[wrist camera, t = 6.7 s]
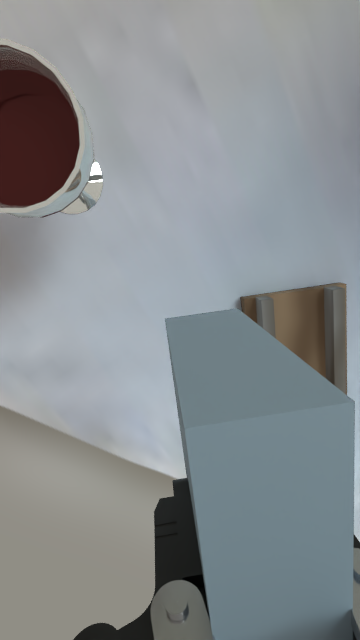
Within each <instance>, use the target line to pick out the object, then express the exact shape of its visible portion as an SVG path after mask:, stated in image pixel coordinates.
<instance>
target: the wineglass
mask: <svg viewBox="0 0 360 640" xmlns="http://www.w3.org/2000/svg"><path fill="white" fill-rule="evenodd" d="M102 187H103V180H102V173H101V170H100V168H99V165H98V163H97V162H96V161H95V159H94V149H93V134H92V131H91V128H90V125H89V122H88V119H87V117H86V114H85V111H84V109H83V107H82V106H81V105H80V103H79V102H78V100H77V99H76V97H75V95H74V92H73V90H72V89H71V88H70V86H69V85H68V83H67V82H66V81H65V79H64V78H63V76H62V75H61V74H60V72H59V71H58V69H57V68H56V67H55V66H53V65H52V64H51V63H50V62H48V61H47V60H46V59H45V58H43V57H42V56H41V55H40V54H38V53H37V52H36V51H35V50H33V49H31V48H28V47H26V46H23V45H21V44H18V43H16V42H13V41H11V40H8V39H0V213H7V214H10V215H13V216H16V217H45V216H48V215H51V214H54V213H57V212H60V211H61V212H64V213H67V214H79V213H82V212H84V211H87V210H88V209H90V208H91V207H92V206H94V205H95V204H96V202H97V200H98V199H99V197H100V195H101V191H102Z"/></svg>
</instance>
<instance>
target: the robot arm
mask: <svg viewBox="0 0 360 640" xmlns="http://www.w3.org/2000/svg"><path fill="white" fill-rule="evenodd" d="M173 490H174V496H173V497H167V498H161V499H160V500H159V502H158V504H157V507H156V509H155V511H154V520H155V521H154V523H155V593H154V596H153V599H152V601H151V603H150V605H149V606H148V608H147V609H146V610H145V612H144V613H143V614H142V615H141V616H140V617H138V618H137V619H136V620H134V621H133V622H131V623H129V624H127V625H126V626H124V627H122V628H121V629H119V630H116V628H114V627H113V626H112V625H109V624H106V623H97V624H93V625H91V626H89V627H87V628H85V629H84V630H83V631H81V632H80V633H79V634H78V635H77V636H76V637H75V638H74V640H215V637H214V635H212V630H211V624H210V620H209V616H208V609H207V601H206V594H205V587H204V579H203V572H202V566H201V559H200V553H199V546H198V540H197V534H196V527H195V521H194V514H193V508H192V501H191V495H190V488H189V482H188V478H184V479H178V480H173ZM351 626H352V629H353V640H360V542H359V541H358V539H357V538H356V537H355V535H354V540H353V609H351Z"/></svg>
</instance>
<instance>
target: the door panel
mask: <svg viewBox="0 0 360 640" xmlns="http://www.w3.org/2000/svg"><path fill="white" fill-rule="evenodd" d="M165 322H166V330H167V337H168V344H169V351H170V359H171V366H172V373H173V380H174V387H175V395H176V402H177V409H178V416H179V424H180V431H181V438H182V445H183V453H184V460H185V467H186V474H187V478H188V482H189V488H190V495H191V501H192V508H193V514H194V521H195V527H196V534H197V540H198V546H199V553H200V559H201V566H202V572H203V579H204V587H205V594H206V601H207V609H208V616H209V620H210V624H211V630H212V635H214V637H215V640H353V629H352V626H351V609H353V540H354V421H355V401H353V400H352V399H351V398H349V397H348V396H347V395H346V394H344V393H343V392H342V391H341V390H339V389H338V388H337V387H336V386H334V385H333V384H332V383H331V382H329V381H328V380H327V379H326V378H324V377H323V376H322V375H321V374H319V373H318V372H317V371H316V370H314V369H313V368H312V367H311V366H309V365H308V364H307V363H306V362H304V361H303V360H302V359H301V358H299V357H298V356H297V355H296V354H294V353H293V352H292V351H291V350H289V349H288V348H287V347H286V346H284V345H283V344H282V343H280V342H279V341H278V340H277V339H275V338H274V337H273V336H272V335H270V334H269V333H268V332H267V331H265V330H264V329H263V328H262V327H260V326H259V325H258V324H257V323H255V322H254V321H253V320H252V319H250V318H249V317H248V316H247V315H245V314H244V313H243V312H242V311H240V310H239V309H231V310H224V311H217V312H209V313H202V314H195V315H188V316H181V317H174V318H167V319H165Z"/></svg>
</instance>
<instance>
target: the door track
mask: <svg viewBox="0 0 360 640" xmlns="http://www.w3.org/2000/svg"><path fill="white" fill-rule="evenodd" d="M241 307H242V312H243V313H244V314H245V315H247V316H248V317H249V318H250V319H252V320H253V321H254V322H255V323H257V324H258V325H259V326H260V327H262V328H263V329H264V330H265V331H267V332H268V333H269V334H270V335H272V336H273V337H274V338H275V339H277V340H278V341H279V342H280V343H282V344H283V345H284V346H286V347H287V348H288V349H289V350H291V351H292V352H293V353H294V354H296V355H297V356H298V357H299V358H301V359H302V360H303V361H304V362H306V363H307V364H308V365H309V366H311V367H312V368H313V369H314V370H316V371H317V372H318V373H319V374H321V375H322V376H323V377H324V378H326V379H327V380H328V381H329V382H331V383H332V384H333V385H334V386H336V387H337V388H338V389H339V390H341V391H342V392H343V393H344V394H346V395H347V338H346V284H343V283H334V284H327V285H320V286H313V287H306V288H300V289H293V290H286V291H279V292H272V293H265V294H258V295H251V296H245V297H241Z"/></svg>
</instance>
